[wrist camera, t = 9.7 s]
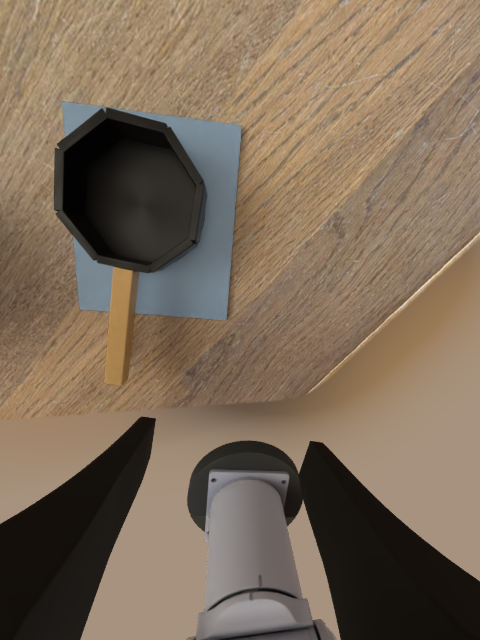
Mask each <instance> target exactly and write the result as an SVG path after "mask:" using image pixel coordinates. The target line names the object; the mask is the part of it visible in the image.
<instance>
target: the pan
mask: <svg viewBox="0 0 480 640" xmlns="http://www.w3.org/2000/svg"><path fill="white" fill-rule="evenodd" d="M57 146H58V147H59V148H60V149H57V148H55V171H54V210H56V211H58V212H57V213H56V215H57V216H58V218H59V219H60V220H61V221H62V223H63V224H64V225H65V226H66V228H67V229H68V230H69V231H70V233H71V234H72V235H73V236H74V237H75V239H76V240H77V241H78V242H79V244H80V245H81V246H82V247H83V249H84V250H85V251H86V252H87V254H88V255H89V256H90V257H91V259H92V260H93V261H97V263H99V264H104V265H109V266H114V267H113V277H112V290H111V303H110V315H109V328H108V341H107V354H106V367H105V380H104V383H105V384H109V385H116V386H122V385H123V384H124V383H125V381H126V380H127V379H128V374H129V365H130V355H131V346H132V336H133V327H134V317H135V308H136V298H137V289H138V279H139V272H143V273H148V274H149V273H154V272H158V271H162V270H163V269H165V268H166V267H168V266H169V265H171V264H172V263H174V262H176V261H178V260H179V259H181V258H182V257H184V256H185V255H186V254H187V253H188V252H189V251H191V250H192V249H194V248H195V247H197V246H198V244H197V243H196V242H198V243H200V238H201V232H202V229H203V226H204V221H205V207H206V201H207V190H206V186H205V183H204V180H203V179H202V177H201V175H200V174H199V172H198V170H197V169H196V167H195V166H194V164H193V162H192V161H191V159H190V157H189V156H188V154H187V153H186V151H185V149H184V148H183V146H182V144H181V143H180V141H179V140H178V138H177V136H176V135H175V133H174V131H173V130H172V128H171V127H170V126H169V127H168V126H167V124H166V123H164V122H160V121H156V120H152V119H149V118H145V117H141V116H138V115H134V114H130V113H126V112H123V111H119V110H115V109H112V108H108V107H106V112H105V110H104V109H103V108H101V109H100V110H99V111H97V112H96V113H95V114H94V115H92V116H91V117H90V118H89V119H87V120H86V121H85V122H84V123H82V124H81V125H80V126H79V127H77V128H76V129H75V130H74V131H72V132H71V133H70V134H69V135H67V136H66V137H65V138H64V139H63V140H61V141H60V142H59V143H58V144H57Z"/></svg>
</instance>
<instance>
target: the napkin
mask: <svg viewBox="0 0 480 640" xmlns="http://www.w3.org/2000/svg"><path fill="white" fill-rule="evenodd" d="M62 108H63V120H64V132H65V137H66V136H67V135H69V134H70V133H71V132H72V131H74V130H75V129H76V128H77V127H79V126H80V125H81V124H82V123H84V122H85V121H86V120H87V119H89V118H90V117H91V116H92V115H94V114H95V113H96V112H97V111H99V110H100V109H101V108H103V109H104V110H105V112H106V107H101V106H93V105H86V104H78V103H71V102H63V101H62ZM112 109H115V110H119V111H123V112H126V113H130V114H134V115H138V116H141V117H145V118H149V119H152V120H156V121H160V122H164V123H166V124H167V126H168V127H169V126H170V127H171V128H172V130H173V131H174V133H175V135H176V136H177V138H178V140H179V141H180V143H181V144H182V146H183V148H184V149H185V151H186V153H187V154H188V156H189V157H190V159H191V161H192V162H193V164H194V166H195V167H196V169H197V170H198V172H199V174H200V175H201V177H202V179H203V180H204V183H205V186H206V190H207V201H206V207H205V221H204V226H203V229H202V232H201V238H200V243H198V242H196V243H197V244H198V246H197V247H195V248H194V249H192V250H191V251H189V252H188V253H187V254H186V255H185V256H184V257H182V258H181V259H179V260H178V261H176V262H174V263H172V264H171V265H169V266H168V267H166V268H165V269H163V270H162V271H158V272H154V273H149V274H148V273H143V272H139V279H138V289H137V298H136V308H135V314H148V315H161V316H175V317H188V318H202V319H215V320H227V308H228V296H229V283H230V270H231V258H232V245H233V232H234V220H235V207H236V194H237V182H238V169H239V156H240V144H241V131H242V125H236V124H229V123H221V122H214V121H206V120H199V119H191V118H184V117H176V116H169V115H161V114H154V113H146V112H139V111H131V110H123V109H116V108H112ZM73 240H74V252H75V264H76V276H77V288H78V300H79V309H80V310H93V311H107V312H110V303H111V290H112V277H113V267H114V266H109V265H104V264H99V263H97V261H93V260H92V259H91V257H90V256H89V255H88V254H87V252H86V251H85V250H84V249H83V247H82V246H81V245H80V244H79V242H78V241H77V240H76V239H75V237H74V236H73Z"/></svg>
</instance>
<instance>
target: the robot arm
mask: <svg viewBox="0 0 480 640" xmlns="http://www.w3.org/2000/svg"><path fill="white" fill-rule="evenodd" d="M155 421H156V419H155V418H148V417H140V418H139V419H138V420H137V421H136V422H135V423H134V424H133V425H132V426H131V427H130V428H129V429H128V430H127V431H126V432H125V433H124V434H123V435H122V436H121V437H120V438H119V439H118V440H117V441H115V442H114V443H113V444H112V445H111V446H110V447H109V448H108V449H107V450H106V451H104V453H102V454H101V455H100V456H98V457H97V458H96V459H95V460H94V461H92V462H91V463H90V464H89V465H87V466H86V467H85V468H84V469H82V470H81V471H80V472H79V473H77V474H76V475H75V476H73V477H72V478H71V479H69V480H68V481H66V482H65V483H64V484H62V485H61V486H59V487H58V488H57V489H55V490H54V491H52V492H51V493H49V494H48V495H46V496H45V497H43V498H42V499H40V500H39V501H37V502H36V503H35V504H33V505H31V506H29V507H28V508H26V509H25V510H23V511H22V512H20V513H18V514H17V515H15V516H13V517H11V518H10V519H8V520H6V521H5V522H3V523H1V524H0V640H80V638H81V636H82V633H83V630H84V627H85V624H86V621H87V618H88V616H89V613H90V610H91V607H92V604H93V601H94V598H95V596H96V593H97V590H98V587H99V584H100V582H101V579H102V576H103V573H104V570H105V568H106V565H107V562H108V559H109V557H110V554H111V552H112V549H113V547H114V544H115V542H116V539H117V537H118V535H119V533H120V531H121V528H122V526H123V524H124V521H125V519H126V517H127V514H128V512H129V510H130V508H131V505H132V503H133V501H134V499H135V496H136V494H137V492H138V489H139V487H140V485H141V483H142V480H143V477H144V474H145V471H146V468H147V465H148V462H149V459H150V455H151V448H152V441H153V435H154V427H155ZM213 478H215V479H213ZM283 480H284V481H283ZM299 481H300V486H301V491H302V496H303V500H304V504H305V507H306V511H307V514H308V517H309V520H310V523H311V526H312V530H313V533H314V536H315V539H316V542H317V546H318V549H319V552H320V555H321V558H322V561H323V565H324V568H325V572H326V576H327V579H328V583H329V588H330V592H331V597H332V601H333V605H334V609H335V614H336V618H337V623H338V628H339V633H340V638H341V640H480V581H478V580H477V579H476V578H474V577H473V576H471V575H470V574H469V573H467V572H466V571H464V570H463V569H461V568H460V567H459V566H457V565H456V564H455V563H453V562H452V561H450V560H449V559H448V558H446V557H445V556H443V555H442V554H441V553H440V552H438V551H437V550H436V549H435V548H433V547H432V546H431V545H430V544H428V543H427V542H426V541H424V540H423V539H422V538H421V537H419V536H418V535H417V534H416V533H415V532H413V531H412V530H411V529H410V528H409V527H408V526H406V525H405V524H404V523H403V522H402V521H401V520H399V519H398V518H397V517H396V516H395V515H394V514H393V513H392V512H390V511H389V510H388V509H387V508H386V507H385V506H384V505H383V504H382V503H381V502H380V501H379V500H378V499H377V498H375V496H373V494H372V493H370V492H369V491H368V490H367V488H365V487H364V486H363V484H361V482H360V481H359V480H358V479H357V478H356V477H355V476H354V475H353V474H352V473H351V472H350V471H349V470H348V469H347V468H346V467H345V466H344V465H343V463H341V462H340V460H339V459H338V458H337V457H336V456H335V455H334V454H333V453H332V452H331V451H330V450H329V449H328V448H327V447H326V446H325V445H324V444H323V443H321V442H314V441H310V443H309V447H308V449H307V452H306V455H305V458H304V461H303V464H302V467H301V470H300V472H299ZM288 483H289V474H288V472H286V471H262V470H227V469H212V470H211V471H210V472H209V483H208V497H207V511H206V524H205V539H204V540H205V541H206V542H207V543H208V558H207V573H206V589H205V606H204V612H201V613H199V614H198V621H197V634H196V636H194V637H189V638H187V640H336V638H335V636H334V634H333V633H332V632H331V631H330V630H329V628H328V627H326V625H325V623H324V622H323V621H322V620H321V619H318V620H312V616H311V612H310V608H309V603H308V600H307V599H303V597H302V593H301V588H300V583H299V579H298V574H297V570H296V565H295V561H294V556H293V551H292V547H291V543H290V538H289V533H288V529H287V524H286V520H285V515H284V511H283V510H284V505H285V499H286V494H287V488H288Z"/></svg>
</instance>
